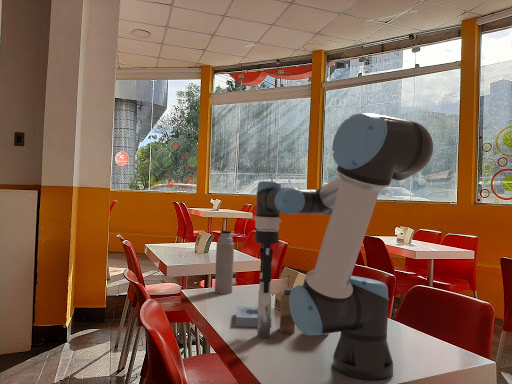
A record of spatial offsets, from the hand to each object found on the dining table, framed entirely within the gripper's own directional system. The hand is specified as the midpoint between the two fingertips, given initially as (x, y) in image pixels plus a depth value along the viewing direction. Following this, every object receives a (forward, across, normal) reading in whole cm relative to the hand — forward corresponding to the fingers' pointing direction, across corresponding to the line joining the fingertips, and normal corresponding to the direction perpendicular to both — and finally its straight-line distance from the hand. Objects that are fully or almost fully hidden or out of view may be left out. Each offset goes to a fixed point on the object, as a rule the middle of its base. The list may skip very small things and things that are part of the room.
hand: (264, 297), depth 127 cm
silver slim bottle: (+12, 0, 0) cm, 12 cm away
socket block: (+12, +16, +3) cm, 20 cm away
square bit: (+12, +6, -8) cm, 16 cm away
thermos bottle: (+13, +58, +16) cm, 61 cm away
